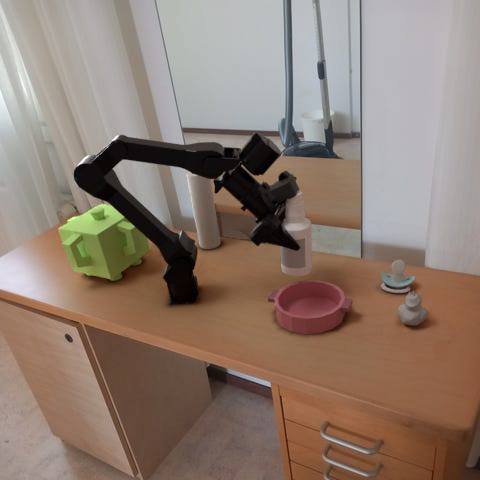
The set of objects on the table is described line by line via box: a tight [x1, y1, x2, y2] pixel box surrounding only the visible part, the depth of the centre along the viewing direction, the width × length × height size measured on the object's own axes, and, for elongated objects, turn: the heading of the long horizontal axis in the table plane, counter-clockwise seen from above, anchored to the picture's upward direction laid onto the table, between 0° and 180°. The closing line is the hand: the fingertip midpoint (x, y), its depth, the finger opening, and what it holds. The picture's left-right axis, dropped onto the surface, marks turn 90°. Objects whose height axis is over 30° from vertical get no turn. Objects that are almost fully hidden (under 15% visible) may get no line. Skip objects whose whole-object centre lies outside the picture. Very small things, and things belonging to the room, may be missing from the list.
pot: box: [267, 279, 354, 335], centre depth 105 cm, size 18×15×4 cm
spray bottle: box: [279, 189, 313, 277], centre depth 105 cm, size 7×7×18 cm
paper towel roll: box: [185, 171, 221, 250], centre depth 134 cm, size 7×6×21 cm
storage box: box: [57, 203, 151, 282], centre depth 131 cm, size 25×23×17 cm
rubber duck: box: [397, 290, 428, 327], centre depth 97 cm, size 5×7×8 cm
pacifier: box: [380, 259, 416, 294], centre depth 108 cm, size 7×6×6 cm
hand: (302, 241), depth 105 cm, fingers closed on spray bottle, 7 cm apart
